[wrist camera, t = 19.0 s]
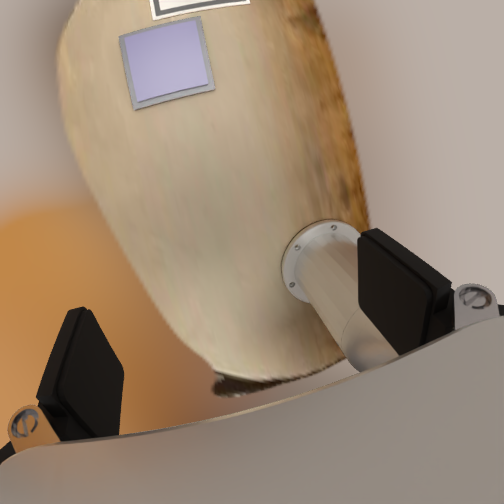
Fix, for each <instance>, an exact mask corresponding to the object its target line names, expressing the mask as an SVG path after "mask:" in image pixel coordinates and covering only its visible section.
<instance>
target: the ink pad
mask: <svg viewBox="0 0 504 504" xmlns="http://www.w3.org/2000/svg"><path fill="white" fill-rule="evenodd" d="M119 42H120V47H121V52H122V57H123V62H124V67H125V72H126V77H127V82H128V87H129V91H130V96H131V100H132V105H133V109H134V110H137V109H141V108H144V107H148V106H151V105H155V104H158V103H162V102H166V101H169V100H173V99H177V98H181V97H185V96H190V95H194V94H198V93H203V92H207V91H212V90H215V85H214V80H213V75H212V70H211V66H210V61H209V56H208V51H207V46H206V42H205V37H204V32H203V27H202V22H201V17H200V16H197V17H192V18H187V19H182V20H177V21H173V22H169V23H164V24H160V25H156V26H152V27H149V28H145V29H141V30H138V31H134V32H131V33H127V34H124V35H121V36H119Z"/></svg>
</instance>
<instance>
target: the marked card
mask: <svg viewBox="0 0 504 504" xmlns="http://www.w3.org/2000/svg"><path fill="white" fill-rule="evenodd" d="M149 1H150V6H151V12H152V17H153V21H156V20H160V19H164V18H168V17H172V16H177V15H182V14H187V13H192V12H197V11H203V10H209V9H215V8H222V7H229V6H237V5H246V4H250V0H149Z"/></svg>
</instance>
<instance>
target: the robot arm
mask: <svg viewBox="0 0 504 504" xmlns="http://www.w3.org/2000/svg"><path fill="white" fill-rule="evenodd" d="M331 226H332V227H331ZM282 277H283V280H284V283H285V285H286V287H287V289H288V290H289V291H290V293H291V294H292V295H293V296H294V297H296V298H297V299H299V300H301V301H303V302H306V303H311V304H312V306H313V307H314V309H315V310H316V312H317V314H318V315H319V317H320V318H321V320H322V321H323V323H324V324H325V326H326V327H327V329H328V330H329V332H330V333H331V335H332V337H333V338H334V340H335V341H336V343H337V344H338V346H339V347H340V349H341V350H342V352H343V353H344V355H345V356H346V358H347V359H348V361H349V362H350V364H351V365H352V366H353V367H354V368H355V369H356V370H358V371H359V372H360V373H358V374H355V375H353V376H350V377H348V378H345V379H342V380H339V381H337V382H334V383H331V384H328V385H326V386H323V387H320V388H317V389H314V390H311V391H308V392H305V393H302V394H299V395H296V396H293V397H290V398H287V399H283V400H280V401H277V402H273V403H270V404H267V405H263V406H259V407H256V408H252V409H249V410H245V411H241V412H237V413H233V414H229V415H225V416H221V417H217V418H212V419H208V420H203V421H199V422H194V423H189V424H184V425H179V426H175V427H169V428H163V429H158V430H151V431H145V432H138V433H131V434H124V435H119V427H120V413H121V401H122V391H123V381H124V370H123V367H122V365H121V363H120V361H119V360H118V358H117V356H116V355H115V353H114V351H113V349H112V348H111V346H110V344H109V342H108V341H107V339H106V337H105V335H104V333H103V331H102V330H101V328H100V326H99V324H98V322H97V320H96V318H95V316H94V315H93V313H92V311H91V310H89V309H88V310H87V309H86V308H85V307H79V308H75V309H71V310H69V311H68V312H67V315H66V317H65V319H64V322H63V324H62V327H61V329H60V331H59V334H58V336H57V339H56V342H55V344H54V347H53V349H52V352H51V354H50V357H49V360H48V363H47V365H46V368H45V371H44V374H43V377H42V380H41V383H40V386H39V389H38V392H37V395H36V398H37V399H38V400H39V403H38V406H35V405H27V406H24V407H22V408H20V409H19V410H17V411H16V412H15V413H14V415H13V416H12V417H11V419H10V421H9V424H8V435H9V438H10V440H11V441H10V442H8V443H7V444H6V445H5V446H4V447H3V448H2V449H0V504H504V305H498V304H497V300H496V297H495V295H494V293H493V292H492V291H491V290H489V289H488V288H486V287H484V286H482V285H479V284H464V285H461V286H460V287H458V288H457V289H456V290H455V291H454V290H453V289H452V288H451V284H452V282H451V281H450V280H448V279H447V278H446V277H444V276H443V275H442V274H440V273H439V272H438V271H436V270H435V269H434V268H432V267H431V266H430V265H429V264H427V263H426V262H425V261H423V260H422V259H420V258H419V257H418V256H416V255H415V254H414V253H412V252H410V251H409V250H408V249H407V248H405V247H404V246H403V245H401V244H400V243H398V242H397V241H395V240H394V239H393V238H391V237H390V236H388V235H387V234H385V233H384V232H383V231H381V230H380V229H378V228H375V229H371V230H368V231H364V232H362V233H361V235H360V234H359V232H358V231H357V230H356V229H355V228H353V227H352V226H350V225H349V224H347V223H345V222H343V221H339V220H323V221H319V222H316V223H314V224H311V225H309V226H308V227H306V228H305V229H303V230H302V231H301V232H299V233H298V234H297V235H296V236H295V237H294V239H293V240H292V241H291V242H290V244H289V246H288V247H287V249H286V251H285V254H284V257H283V260H282Z"/></svg>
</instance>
